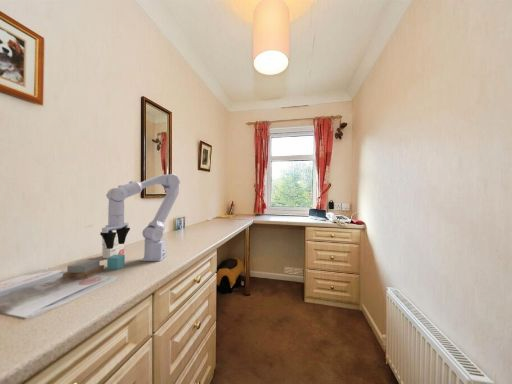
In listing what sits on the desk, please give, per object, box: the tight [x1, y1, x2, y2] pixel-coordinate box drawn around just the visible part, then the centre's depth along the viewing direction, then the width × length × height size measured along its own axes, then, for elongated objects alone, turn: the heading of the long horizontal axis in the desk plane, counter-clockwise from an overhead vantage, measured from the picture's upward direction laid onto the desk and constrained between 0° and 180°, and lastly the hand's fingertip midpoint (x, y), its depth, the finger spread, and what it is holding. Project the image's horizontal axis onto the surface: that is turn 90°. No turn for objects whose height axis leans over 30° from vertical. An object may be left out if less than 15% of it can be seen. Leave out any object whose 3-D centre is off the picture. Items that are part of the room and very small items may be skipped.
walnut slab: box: [62, 264, 105, 279], centre depth 81 cm, size 9×9×2 cm
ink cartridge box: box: [101, 230, 125, 259], centre depth 104 cm, size 9×5×15 cm, turn 168°
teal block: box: [106, 254, 126, 271], centre depth 89 cm, size 4×4×5 cm
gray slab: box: [66, 259, 101, 273], centre depth 81 cm, size 7×7×2 cm
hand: (115, 246), depth 89 cm, fingers open, 7 cm apart
